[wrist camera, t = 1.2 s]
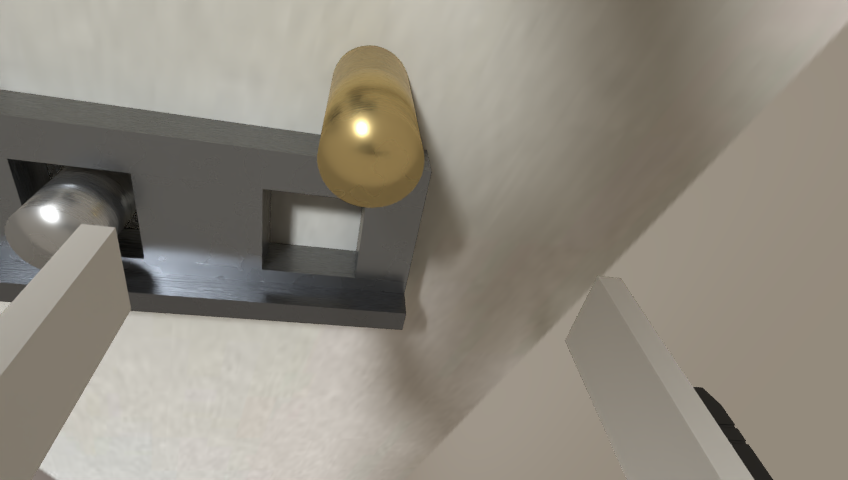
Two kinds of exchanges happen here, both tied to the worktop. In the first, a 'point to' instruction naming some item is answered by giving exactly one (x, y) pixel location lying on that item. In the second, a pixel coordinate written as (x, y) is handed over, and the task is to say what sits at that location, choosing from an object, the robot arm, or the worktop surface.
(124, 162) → the jig
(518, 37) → the worktop surface
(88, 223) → the silver metal cylinder
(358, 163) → the gold metal cylinder
